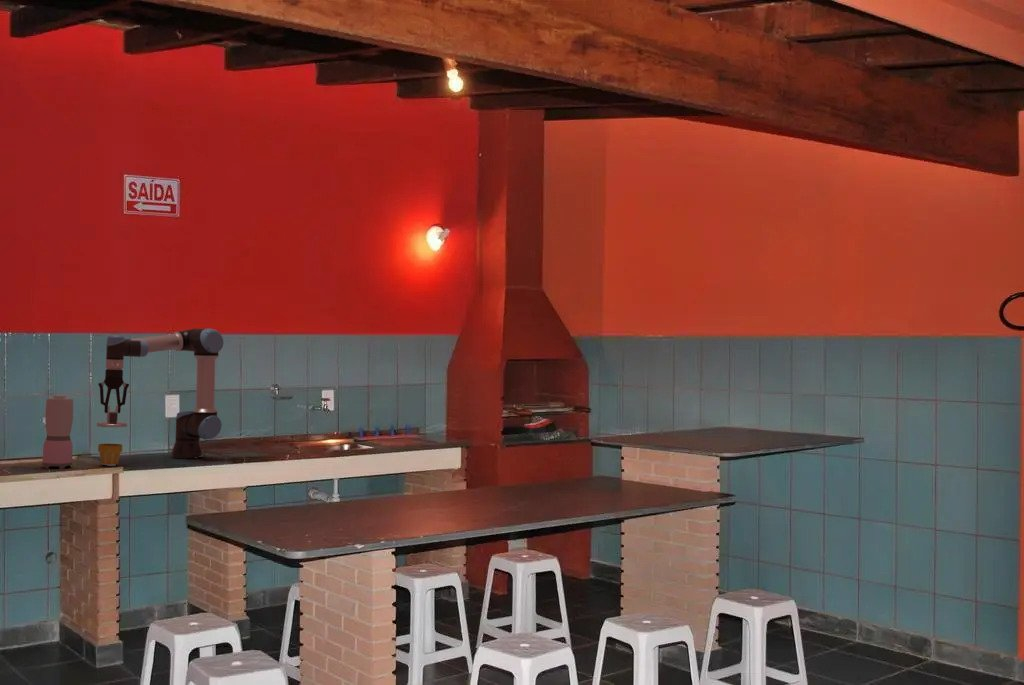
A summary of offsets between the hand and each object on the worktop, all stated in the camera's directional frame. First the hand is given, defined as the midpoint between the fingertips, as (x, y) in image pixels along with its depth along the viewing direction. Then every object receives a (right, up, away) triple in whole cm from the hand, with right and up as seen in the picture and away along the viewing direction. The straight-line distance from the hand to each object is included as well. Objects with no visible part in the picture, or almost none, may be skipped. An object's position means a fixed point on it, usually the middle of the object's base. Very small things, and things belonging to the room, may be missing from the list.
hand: (112, 420), depth 494 cm
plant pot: (-1, -21, 0) cm, 21 cm away
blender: (-19, -20, -13) cm, 31 cm away
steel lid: (0, -3, 0) cm, 3 cm away
